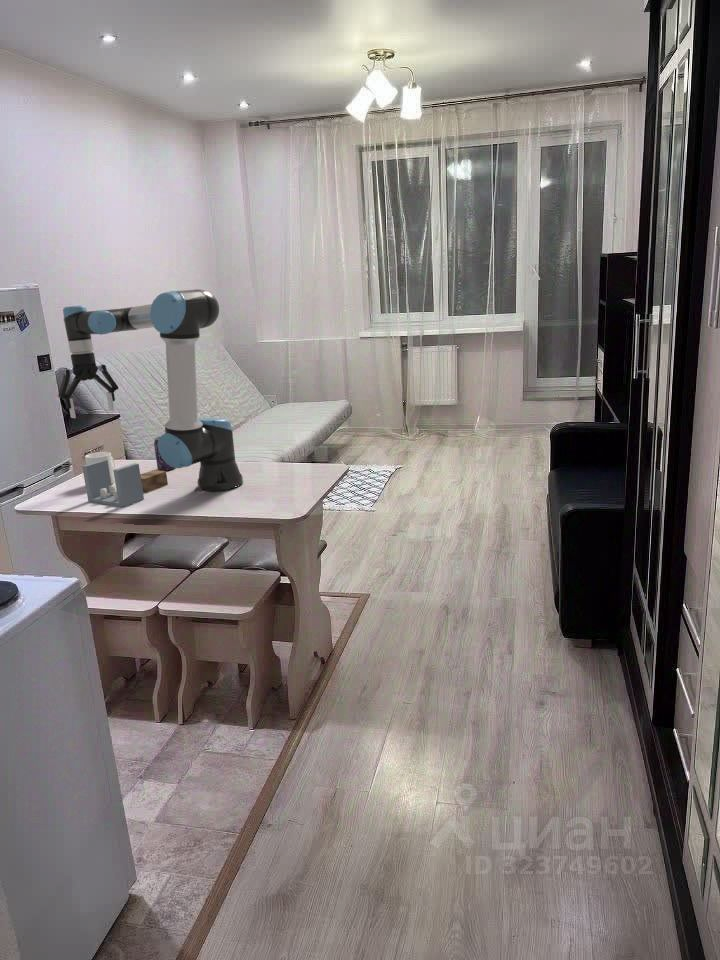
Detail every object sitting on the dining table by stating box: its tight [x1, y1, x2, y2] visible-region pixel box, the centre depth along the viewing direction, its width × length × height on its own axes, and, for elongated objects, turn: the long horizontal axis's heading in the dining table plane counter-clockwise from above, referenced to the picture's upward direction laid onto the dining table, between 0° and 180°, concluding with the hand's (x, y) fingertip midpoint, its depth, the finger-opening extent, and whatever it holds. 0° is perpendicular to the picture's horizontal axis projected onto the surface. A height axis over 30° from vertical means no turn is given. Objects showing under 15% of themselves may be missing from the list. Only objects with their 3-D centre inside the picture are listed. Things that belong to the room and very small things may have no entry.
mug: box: [84, 451, 116, 485], centre depth 255 cm, size 9×12×11 cm
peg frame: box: [81, 460, 145, 508], centre depth 232 cm, size 17×8×12 cm, turn 58°
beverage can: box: [153, 436, 175, 471], centre depth 268 cm, size 7×7×12 cm
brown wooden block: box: [140, 469, 169, 494], centre depth 245 cm, size 10×6×5 cm, turn 150°
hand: (93, 414), depth 249 cm, fingers open, 13 cm apart
